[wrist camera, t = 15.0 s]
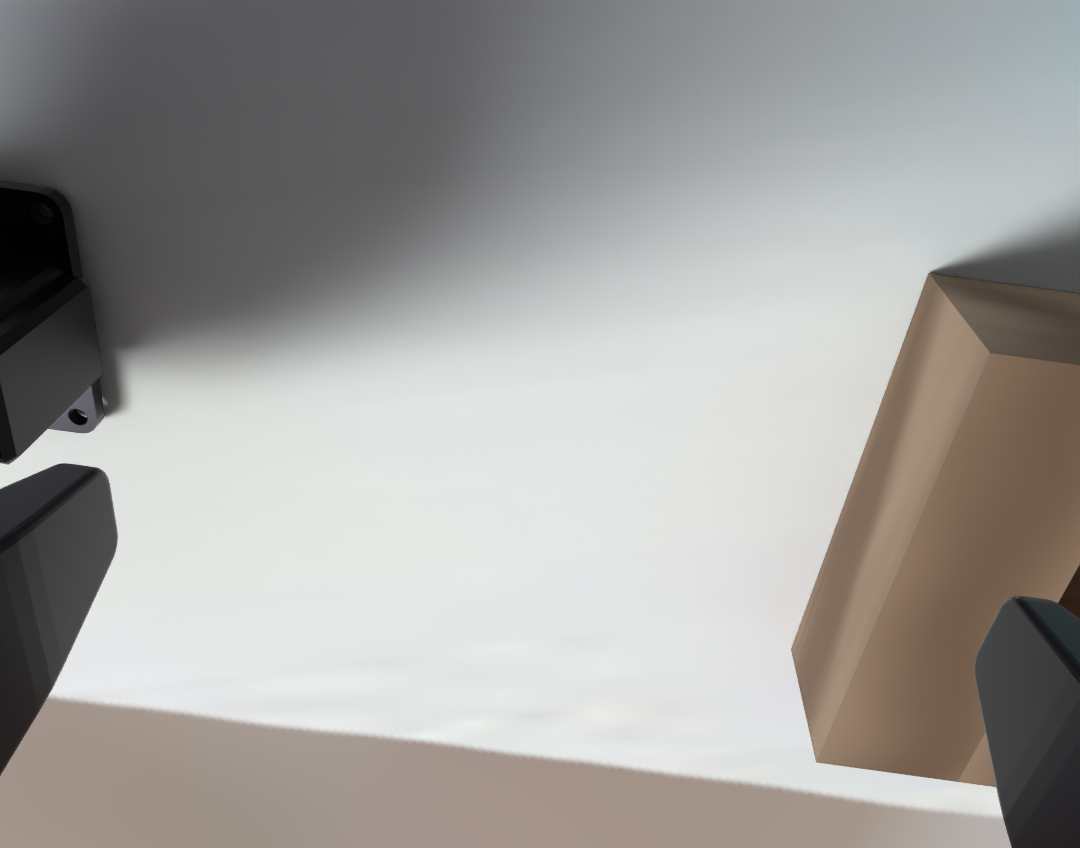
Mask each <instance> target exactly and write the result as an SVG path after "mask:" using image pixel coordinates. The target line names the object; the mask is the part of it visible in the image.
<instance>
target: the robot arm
mask: <svg viewBox="0 0 1080 848" xmlns="http://www.w3.org/2000/svg"><path fill="white" fill-rule="evenodd" d="M40 203H42V204H44V205H46V206H47V207H48V208H49V209H50V210H51V212H52V215H53V218H49V217H47V216H46V215H45V214H44V213H43V212H42V211H41V208H40ZM101 375H102V365H101V358H100V352H99V345H98V339H97V333H96V326H95V320H94V314H93V307H92V301H91V294H90V289H89V287H88V285H87V284H86V282H85V281H84V279H83V276H82V270H81V264H80V257H79V251H78V245H77V239H76V233H75V226H74V220H73V214H72V209H71V207H70V204H69V202H68V201H67V199H66V198H65V197H64V195H62V194H61V193H59V192H58V191H57V190H55V189H52V188H49V187H43V186H36V185H29V184H22V183H14V182H7V181H0V463H2V464H10V463H12V462H13V461H14V460H16V459H17V458H18V457H19V456H20V455H21V454H22V453H23V452H24V451H25V450H26V449H27V448H28V447H29V446H30V445H31V444H32V443H33V442H34V441H35V440H37V439H38V438H39V437H40V436H41V435H42V434H43V433H44V432H45V431H46V430H47V429H54V430H61V431H69V432H76V433H89V432H91V431H93V430H94V429H95V428H96V427H97V426H98V425H99V424H100V423H101V421H102V420H103V418H104V407H103V401H102V395H101V389H100V382H99V377H100V376H101ZM76 409H79V410H82V411H83V412H84V413H85V414H86V416H87V417H84V416H81V415H80V414H79V413H78V412H77V410H76ZM117 539H118V534H117V526H116V520H115V514H114V508H113V502H112V495H111V489H110V483H109V480H108V477H107V475H106V473H105V472H104V471H102V470H101V469H99V468H96V467H89V466H82V465H75V464H65V463H63V464H58V465H55V466H52V467H50V468H48V469H45V470H43V471H41V472H38V473H36V474H34V475H31V476H29V477H27V478H24V479H22V480H20V481H17V482H15V483H13V484H11V485H8V486H6V487H4V488H1V489H0V775H1V774H2V772H3V770H4V769H5V767H6V765H7V764H8V762H9V760H10V759H11V757H12V756H13V754H14V752H15V751H16V749H17V747H18V746H19V744H20V742H21V741H22V739H23V737H24V735H25V734H26V732H27V731H28V729H29V727H30V726H31V724H32V723H33V721H34V719H35V718H36V716H37V714H38V712H39V711H40V709H41V707H42V706H43V704H44V702H45V700H46V699H47V697H48V695H49V693H50V692H51V690H52V688H53V686H54V684H55V682H56V680H57V678H58V676H59V674H60V672H61V670H62V668H63V666H64V664H65V662H66V660H67V658H68V655H69V653H70V651H71V649H72V647H73V645H74V642H75V640H76V638H77V636H78V634H79V631H80V629H81V627H82V625H83V623H84V621H85V618H86V616H87V614H88V612H89V610H90V608H91V605H92V603H93V601H94V599H95V597H96V595H97V592H98V590H99V588H100V586H101V584H102V582H103V579H104V577H105V575H106V573H107V571H108V569H109V566H110V564H111V562H112V560H113V557H114V555H115V551H116V547H117ZM974 675H975V682H976V687H977V692H978V697H979V702H980V707H981V712H982V717H983V722H984V727H985V732H986V737H987V742H988V747H989V752H990V757H991V762H992V768H993V773H994V778H995V783H996V788H997V793H998V797H999V802H1000V806H1001V810H1002V815H1003V819H1004V822H1005V825H1006V829H1007V833H1008V836H1009V839H1010V843H1011V846H1012V848H1080V619H1078V618H1077V617H1076V616H1074V615H1073V614H1072V613H1070V612H1069V611H1068V610H1067V609H1065V608H1064V607H1063V606H1061V605H1060V604H1058V603H1057V602H1054V601H1052V600H1048V599H1041V598H1033V597H1026V596H1019V595H1017V596H1012V597H1010V598H1008V599H1007V600H1006V601H1004V603H1003V604H1002V606H1001V607H1000V609H999V611H998V613H997V615H996V617H995V619H994V621H993V623H992V625H991V627H990V628H989V630H988V632H987V634H986V636H985V638H984V640H983V642H982V644H981V646H980V648H979V650H978V652H977V655H976V659H975V665H974Z"/></svg>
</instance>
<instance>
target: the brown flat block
mask: <svg viewBox="0 0 1080 848" xmlns="http://www.w3.org/2000/svg"><path fill="white" fill-rule="evenodd" d="M1017 595H1019V596H1026V597H1033V598H1041V599H1048V600H1052V601H1054V602H1057V603H1058V604H1060V605H1061V606H1063V607H1064V608H1065V609H1067V610H1068V611H1069V612H1070V613H1072V614H1073V615H1074V616H1076V617H1077V618H1078V619H1080V294H1077V293H1070V292H1062V291H1055V290H1048V289H1041V288H1033V287H1026V286H1019V285H1011V284H1004V283H997V282H990V281H982V280H975V279H968V278H960V277H953V276H946V275H939V274H931V273H929V274H928V277H927V279H926V282H925V285H924V287H923V290H922V293H921V296H920V298H919V301H918V304H917V307H916V309H915V312H914V315H913V318H912V320H911V323H910V326H909V329H908V331H907V334H906V337H905V339H904V342H903V345H902V348H901V350H900V353H899V356H898V359H897V361H896V364H895V367H894V370H893V372H892V375H891V378H890V380H889V383H888V386H887V389H886V391H885V394H884V397H883V400H882V402H881V405H880V408H879V411H878V413H877V416H876V419H875V421H874V424H873V427H872V430H871V432H870V435H869V438H868V441H867V443H866V446H865V449H864V452H863V454H862V457H861V460H860V462H859V465H858V468H857V471H856V473H855V476H854V479H853V482H852V484H851V487H850V490H849V493H848V495H847V498H846V501H845V504H844V506H843V509H842V512H841V514H840V517H839V520H838V523H837V525H836V528H835V531H834V534H833V536H832V539H831V542H830V545H829V547H828V550H827V553H826V555H825V558H824V561H823V564H822V566H821V569H820V572H819V575H818V577H817V580H816V583H815V586H814V588H813V591H812V594H811V596H810V599H809V602H808V605H807V607H806V610H805V613H804V616H803V618H802V621H801V624H800V627H799V629H798V632H797V635H796V638H795V640H794V643H793V646H792V648H791V651H792V656H793V660H794V665H795V669H796V673H797V678H798V682H799V687H800V691H801V696H802V700H803V705H804V709H805V714H806V718H807V723H808V727H809V732H810V736H811V741H812V745H813V750H814V754H815V759H816V762H818V763H825V764H832V765H840V766H847V767H854V768H861V769H869V770H876V771H883V772H891V773H898V774H905V775H912V776H920V777H927V778H934V779H942V780H949V781H956V782H963V783H971V784H978V785H985V786H993V787H996V783H995V778H994V773H993V768H992V762H991V757H990V752H989V747H988V742H987V737H986V732H985V727H984V722H983V717H982V712H981V707H980V702H979V697H978V692H977V687H976V682H975V675H974V665H975V659H976V655H977V652H978V650H979V648H980V646H981V644H982V642H983V640H984V638H985V636H986V634H987V632H988V630H989V628H990V627H991V625H992V623H993V621H994V619H995V617H996V615H997V613H998V611H999V609H1000V607H1001V606H1002V604H1003V603H1004V601H1006V600H1007V599H1008V598H1010V597H1012V596H1017Z"/></svg>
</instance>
